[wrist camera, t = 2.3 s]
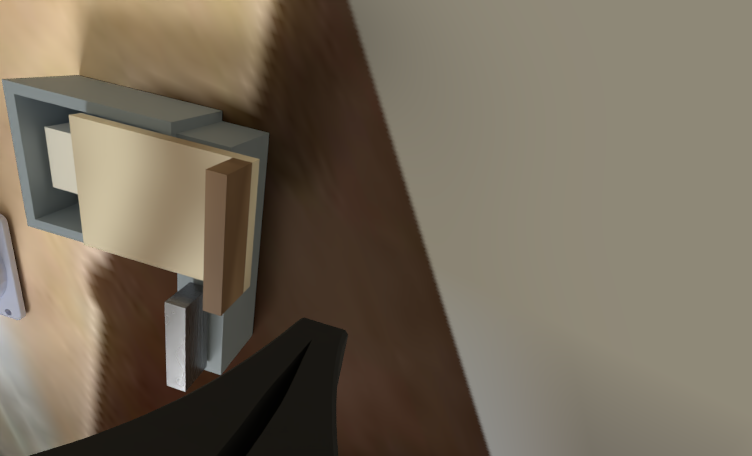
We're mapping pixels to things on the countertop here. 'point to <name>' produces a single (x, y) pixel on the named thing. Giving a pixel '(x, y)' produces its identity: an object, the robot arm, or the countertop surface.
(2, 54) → the countertop surface
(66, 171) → the soap bar
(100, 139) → the lid
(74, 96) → the box
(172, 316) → the grey rectangular bar
